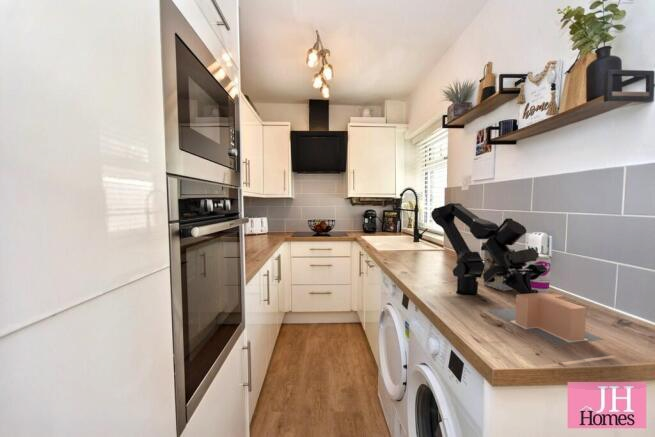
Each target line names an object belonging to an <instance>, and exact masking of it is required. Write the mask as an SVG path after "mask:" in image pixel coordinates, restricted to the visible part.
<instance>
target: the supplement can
mask: <svg viewBox="0 0 655 437" xmlns="http://www.w3.org/2000/svg"><path fill="white" fill-rule="evenodd" d="M536 259H537V260H536V261H530V262H526V264H527V265H526V266H524V267H522V268H523V269H525V268H527V267H528V266H529V265H530V264H542V265H544V266H545V267H546V269H547V272H545V273H544V274H542V275H541V276H540V277H538V278H537V279H535V280H530V283H531V288H532V292H533V293H545V292H550V279H551V260H552V259H551V258H550V256H549V255H548V254H544V253H539V257H538V258H536Z"/></svg>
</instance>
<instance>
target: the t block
mask: <svg viewBox="0 0 655 437" xmlns="http://www.w3.org/2000/svg"><path fill="white" fill-rule="evenodd" d="M515 298H516V301H515V303H516V304H515V308H516V318H515V323H517V324H520V325H522V326H524V327H526V328H532V327H540V328H542V329H544V330H546V331H548V332H551V333H553V334H555V335H557V336H559V337H562V338H564V339H566V340H568V341H577V340H584V338H585V332H586V319H587V318H586V317H587V307H585V306H582V305H579V304H576V303H573V302H569V301H567V300H565V299H564V298H565V295H562V294H558V293H555V292H552V291H549V292H545V293H531V294H520V293H518V294H516V297H515Z"/></svg>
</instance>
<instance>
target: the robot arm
mask: <svg viewBox="0 0 655 437" xmlns="http://www.w3.org/2000/svg"><path fill="white" fill-rule="evenodd" d="M430 216H431V218H432V220H433V221H434V223H435V224H436V225H437V226H439V227H441V228H442V229H443V231H444V233H445V235H446V238H447V239H448V241H449V242H450V245H451V246H452V248H453V249H454V250H453V251H454V252H455V254H456V256H457V257H456V266H454V268H453V269H452V274H453V276H454V277H456V278H457V282H456V284H457V285H456V291H455V293H456V294H460V295H466V296H473V297H474V296H476V295H477V294H479V281H478V280H477V278H478V279H479V278H480V279H481V278H482V279H483V281H484V280H485V282H486V283H493V282H494V281H495V278H494V277H504V281H503V282H502V283H503V284H506V285H507V286H509V287H511V288H512V290H514V291H515V292H518V294H531V293H533V292H532V288H531V283H530V280H535V279H537V278H538V277H540V276H541V275H542V274H544V273H545V272H547V269H546V267H545V266H544V265H542V264H530V265H529V266H528V267H527V268H525V269H523V267H524V266H526V265H527V264H526V262H530V261H536V260H537V259H536V258H538V257H539V254H540V253H539V252H538V251H537V250H536V249H535V247H529V248H525V249H521V250H516V251H511V250H510V247H509V246H513V245H514V244H515V243H517V242H518V241H519V240H521V238H522V237H523V236H524V235H525V234H526V233H527V229H526V227H525V226H524V225H523V224H521V223H519V222H518V221H516V220H513V218H512V217H511V218H510V217H509V218H505V219H504V220H503V222H502V223H501V224H500V225H498V224H497V223H495V222H493V221H490V220H487V219H484V218H481V217H479V216H478V215H476V214H475V213H473V212H472V211H470V210H469V209H467V208H466V207H464V206H463V205H462V203H459V202H449V203H447V204H446V205H443V206H442V205H441V206H438V207H435V208H434V209H433V210H432V211H431V215H430ZM455 218H457V219H458V220H459V221H461V222H462V223H463V224H464V225H466V226H467V227H468V228H469V231H470V233H471V235H472V236H473V237H474V238H475V239H476V240H486V241H485V242H482V243H481V247H480V250H481V251H485V250H488V252H489V253H490V255H491V256H492V258H493V259H494V260H493V261H492V263H493V264H497V266H491V267H490V268H489V269H488V270H487V271H485V272H484V267H485V266H484V258H482V256H481V255H480V253H479V252H478V251H472V250H471V249H470V248H469V246H468V244H467V242H466V241H465V239H464V237H463V236H462V234H461V232H460V231H459V229H458V227H457V225H456V224H455Z"/></svg>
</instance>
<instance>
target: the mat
mask: <svg viewBox="0 0 655 437" xmlns="http://www.w3.org/2000/svg"><path fill="white" fill-rule="evenodd" d="M485 311H486V312H487V313H489V314H492V315H494V316H496V317H497V318H500V319H501V320H504V321H506V322H508V323H510V324H512V325H514V326H517V328H520V329H522V330H525V331H526V332H529V333H530V334H532V335H535V336H536V337H539V338H540V339H542V340H545V341H546V342H549V343H551V344H553V345H555V346H562V345H569V344H577V343H578V344H579V343H585V342H586V343H587V342H595V341H601V340H604V341H605V338H602V337H601V336H598V335H596V334H595V335H594V334H592V333H590V332H587V331H585V338H584V340H577V341H568V340H566V339H564V338H562V337H559V336H557V335H555V334H553V333H551V332H548V331H546V330H544V329H542V328H540V327H532V328H526V327H524V326H522V325H520V324H517V323H515V318H516V307H515V308H503V309H501V308H499V309H490V310H489V309H488V310H485Z"/></svg>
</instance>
